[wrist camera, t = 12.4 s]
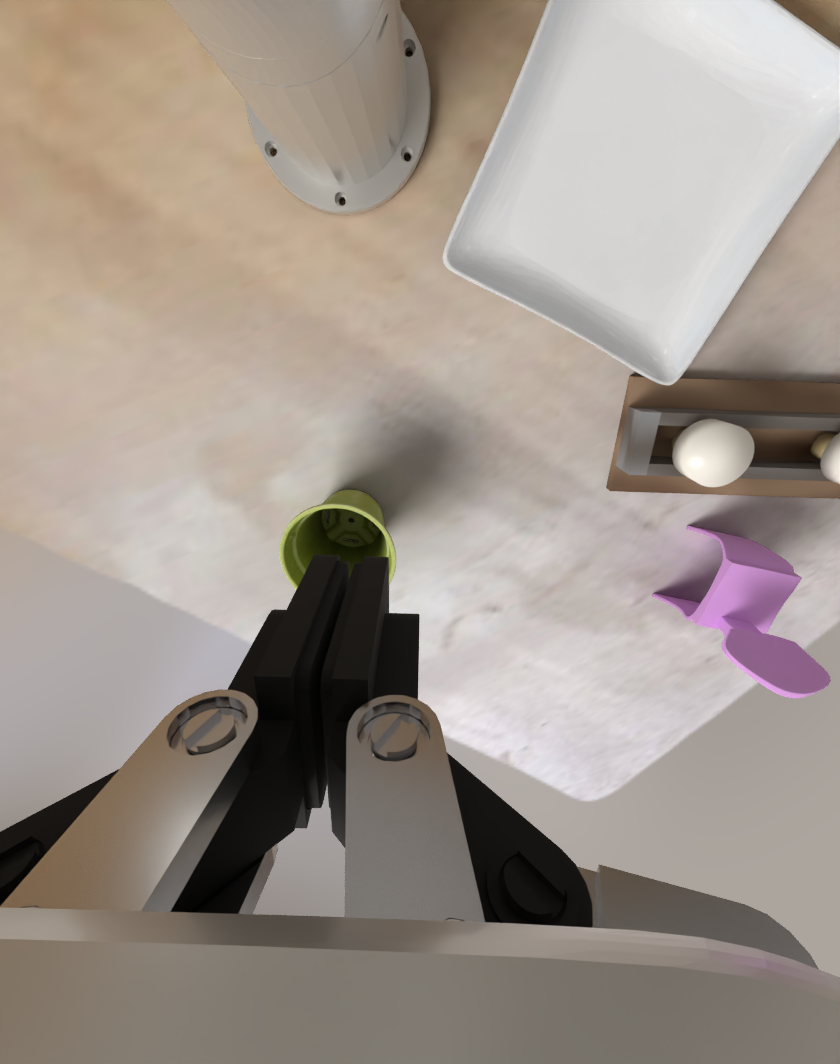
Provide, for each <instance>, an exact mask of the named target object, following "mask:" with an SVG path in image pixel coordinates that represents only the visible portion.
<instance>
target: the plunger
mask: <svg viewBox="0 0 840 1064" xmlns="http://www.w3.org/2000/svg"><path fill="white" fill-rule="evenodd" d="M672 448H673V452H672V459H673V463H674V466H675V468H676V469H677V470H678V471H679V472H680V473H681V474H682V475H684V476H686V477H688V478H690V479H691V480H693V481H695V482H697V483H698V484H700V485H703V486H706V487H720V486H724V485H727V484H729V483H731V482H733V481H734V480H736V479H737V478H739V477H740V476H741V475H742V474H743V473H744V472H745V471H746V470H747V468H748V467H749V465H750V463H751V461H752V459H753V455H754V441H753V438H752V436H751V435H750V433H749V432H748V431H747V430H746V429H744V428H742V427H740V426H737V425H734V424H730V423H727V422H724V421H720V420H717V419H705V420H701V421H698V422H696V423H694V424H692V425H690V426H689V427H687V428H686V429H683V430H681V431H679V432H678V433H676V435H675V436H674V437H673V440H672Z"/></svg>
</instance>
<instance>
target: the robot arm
mask: <svg viewBox="0 0 840 1064" xmlns="http://www.w3.org/2000/svg"><path fill="white" fill-rule="evenodd" d="M166 1H167V2H168V3H169V4H170V6H171V7H172V8H173V9H174V11H175V12H176V13H177V14H178V16H179V17H180V18H181V19H182V21H183V22H184V23H185V24H186V26H187V27H188V29H189V30H190V31H191V32H192V34H193V35H194V36H195V38H196V39H197V40H198V41H199V43H200V44H201V45H202V46H203V48H204V49H205V50H206V52H207V53H208V54H209V55H210V57H211V58H212V59H213V60H214V62H215V63H216V64H217V66H218V67H219V68H220V69H221V71H222V72H223V73H224V75H225V76H226V77H227V78H228V80H229V81H230V82H231V83H232V85H233V86H234V87H235V89H236V90H237V91H238V92H239V94H240V95H241V96H242V98H243V99H244V100H245V103H246V109H247V115H248V121H249V124H250V127H251V130H252V133H253V136H254V139H255V142H256V144H257V146H258V148H259V150H260V152H261V154H262V156H263V158H264V160H265V162H266V163H267V165H268V166H269V168H270V169H271V171H272V172H273V173H274V175H275V176H276V178H277V179H278V180H279V181H280V182H281V183H282V184H283V185H284V186H285V187H286V188H287V189H288V190H289V191H290V192H291V193H292V194H294V195H295V196H296V197H297V198H298V199H300V200H301V201H303V202H304V203H306V204H308V205H310V206H311V207H313V208H315V209H318V210H321V211H324V212H327V213H330V214H339V215H353V214H360V213H365V212H367V211H370V210H372V209H375V208H378V207H379V206H381V205H382V204H384V203H385V202H387V201H388V200H390V199H391V198H393V197H394V196H395V195H396V193H397V192H398V191H399V190H400V189H401V188H402V187H403V186H404V185H405V184H406V182H407V181H408V179H409V178H410V176H411V175H412V173H413V172H414V170H415V168H416V166H417V164H418V162H419V159H420V157H421V155H422V153H423V150H424V146H425V142H426V138H427V134H428V129H429V120H430V110H431V105H430V97H431V92H430V83H429V74H428V68H427V64H426V60H425V57H424V53H423V49H422V46H421V44H420V41H419V39H418V37H417V35H416V32H415V30H414V28H413V26H412V24H411V22H410V21H409V19H408V18H407V16H406V15H405V13H404V12H403V10H402V9H401V6H400V0H166ZM408 51H411V52H412V53H413V56H411V57H407V56H406V53H407V52H408ZM273 150H277V154H276V155H275V156H274V157H273V156H272V151H273ZM406 154H409V155H410V156H411V159H410V161H405V160H404V156H405V155H406ZM342 198H344V199H345V200H346V202H345V204H344V205H343V206H342V205H340V203H339V201H340V199H342ZM418 660H419V614H399V613H389V557H373V556H364V559H363V562H355V563H354V566H353V570H352V573H351V576H350V578H349V563H348V562H341V560H340V556H339V555H314V556H313V558H312V560H311V562H310V564H309V566H308V568H307V570H306V572H305V574H304V576H303V578H302V580H301V582H300V584H299V586H298V588H297V590H296V592H295V594H294V596H293V598H292V600H291V602H290V604H289V606H288V608H287V610H272V611H271V612H270V614H269V615H268V617H267V619H266V621H265V622H264V624H263V626H262V628H261V630H260V631H259V633H258V635H257V637H256V639H255V641H254V642H253V644H252V646H251V648H250V650H249V652H248V654H247V655H246V657H245V659H244V661H243V663H242V664H241V666H240V668H239V670H238V672H237V673H236V675H235V677H234V679H233V681H232V683H231V684H230V686H229V688H228V690H215V691H210V692H205V693H202V694H200V695H197V696H195V697H192V698H190V699H188V700H186V701H185V702H183V703H181V704H180V705H178V706H176V707H175V708H174V709H173V710H172V711H171V712H170V713H169V714H168V715H167V716H166V717H165V718H164V719H163V720H162V721H161V722H160V723H159V725H158V726H157V727H156V728H155V729H154V730H153V731H152V733H151V734H150V735H149V736H148V737H147V738H146V740H145V741H144V742H143V743H142V744H141V745H140V746H139V747H138V749H137V750H136V751H135V752H134V753H133V754H132V756H131V757H130V758H129V759H128V760H127V761H126V762H125V764H124V765H123V766H122V767H121V768H120V769H119V770H117V771H115V772H113V773H111V774H109V775H107V776H105V777H103V778H101V779H100V780H98V781H96V782H94V783H92V784H90V785H88V786H86V787H84V788H83V789H81V790H79V791H77V792H75V793H73V794H71V795H69V796H68V797H66V798H63V799H62V800H60V801H58V802H56V803H54V804H52V805H50V806H48V807H47V808H45V809H43V810H41V811H39V812H37V813H35V814H33V815H31V816H29V817H27V818H26V819H24V820H22V821H20V822H18V823H16V824H14V825H13V826H10V827H9V828H7V829H5V830H3V831H1V832H0V1064H840V978H839V977H837V976H834V975H832V974H829V973H826V972H824V971H821V970H819V969H818V967H817V965H816V964H815V962H814V960H813V959H812V957H811V955H810V954H809V953H808V951H807V950H806V949H805V948H804V947H803V946H802V945H801V944H800V943H799V941H798V940H797V939H796V938H795V937H794V936H793V935H792V934H791V933H790V932H789V931H788V930H787V929H786V928H784V927H783V926H782V925H780V924H779V923H777V922H776V921H775V920H774V919H772V918H771V917H770V916H768V915H767V914H765V913H763V912H761V911H758V910H756V909H754V908H751V907H749V906H747V905H745V904H741V903H737V902H734V901H730V900H726V899H722V898H719V897H716V896H712V895H708V894H704V893H701V892H697V891H694V890H690V889H686V888H682V887H679V886H675V885H672V884H668V883H665V882H661V881H657V880H654V879H650V878H646V877H642V876H639V875H635V874H631V873H628V872H624V871H621V870H617V869H613V868H610V867H606V866H602V865H599V866H598V870H597V872H594V871H591V870H587V869H584V868H580V867H577V866H576V864H575V863H574V862H573V861H572V860H571V859H570V858H569V857H568V856H567V855H566V854H565V853H564V852H563V851H562V849H560V848H559V847H558V846H557V845H556V844H554V843H553V842H552V841H551V840H550V839H548V838H547V837H546V836H545V835H544V834H543V833H541V832H540V831H539V830H538V829H537V828H535V827H534V826H533V825H532V824H531V823H530V822H528V821H527V820H526V819H525V818H523V816H521V815H520V814H519V813H518V812H517V811H515V810H514V809H513V808H512V807H511V806H510V805H508V804H507V803H506V802H505V801H504V800H502V799H501V798H500V797H499V796H498V795H496V794H495V793H494V792H493V791H492V790H491V789H489V788H488V787H487V786H486V785H485V784H483V783H482V782H481V781H480V780H479V779H478V778H476V777H475V776H474V775H473V774H472V773H471V772H469V771H468V770H467V769H466V768H465V767H463V766H462V765H461V764H460V763H459V762H458V761H456V760H455V759H454V758H453V757H452V756H450V755H449V754H448V753H447V752H446V747H445V743H444V739H443V734H442V730H441V725H440V723H439V720H438V718H437V716H436V714H435V713H434V712H433V711H432V710H431V709H430V707H429V706H428V705H426V704H424V703H423V702H421V701H419V700H418ZM327 785H328V797H329V798H328V799H329V807H330V808H331V820H332V832H333V833H334V834H335V836H336V837H337V838H338V840H339V841H340V842H341V843H342V845H343V846H344V847H345V917H320V916H286V915H254V914H253V912H254V909H255V907H256V905H257V902H258V900H259V897H260V895H261V893H262V890H263V888H264V886H265V884H266V881H267V879H268V876H269V874H270V872H271V869H272V867H273V865H274V862H275V858H276V854H277V851H278V843H279V842H280V841H281V840H283V839H284V838H285V837H286V836H288V835H289V834H290V833H292V832H293V831H294V829H295V828H307V825H308V821H309V817H310V813H311V809H312V808H321V807H322V804H323V800H324V796H325V791H326V786H327Z"/></svg>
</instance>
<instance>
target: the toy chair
mask: <svg viewBox="0 0 840 1064" xmlns="http://www.w3.org/2000/svg"><path fill="white" fill-rule="evenodd" d="M686 529H689V530H693V531H697V532H700V533H703V534H706V535H709V536H711V537H714V538H715V539H717V540H718V541H719V543H720V544H721V548H722V553H723V561H722V564H721V567H720V569H719V571H718V573H717V575H716V577H715V579H714V581H713V583H712V585H711V587H710V589H709V591H708V593H707V594H706V596H705V597H704V599H703V600H702V602H701V603H699V602H694V601H689V600H684V599H679V598H674V597H670V596H665V595H660V594H655V593H653V595H652V596H653V597H655V598H657V599H659V600H662V601H664V602H666V603H668V604H670V605H672V606H673V607H675V608H677V609H678V610H679V611H680V612H681V613H682V614H683V616H684V617H685V618H686V619H687V620H691V621H694V622H695V623H696V624H697V625H700V626H705V627H710V628H716V629H720V630H721V631H722V632H723V634H724V635H725V636H726V637H725V639H724V640H723V642H722V646H721V647H722V650H723V652H724V653H725V655H726V656H727V657H728V658H729V659H730V660H731V661H732V662H733V663H734V664H735V665H737V666H738V667H739V668H740V669H741V670H743V671H744V672H745V673H747V674H748V675H749V676H751V677H752V678H753V679H755V680H756V681H758V682H759V683H760V684H762V685H763V686H765V687H766V688H768V689H770V690H772V691H773V692H775V693H777V694H779V695H782V696H785V697H790V698H801V697H805V696H808V695H811V694H813V693H816V692H818V691H820V690H822V689H824V688H825V687H826V686H828V685H829V683H830V676H829V674H828V673H827V672H826V671H825V669H824V668H823V667H822V666H820V665H819V664H818V663H817V662H816V661H815V660H814V659H813V658H812V657H811V656H810V655H808V654H807V653H806V652H805V651H804V650H803V649H802V648H801V647H800V646H798V645H797V644H796V643H795V642H793V641H790V640H786V639H783V638H780V637H777V636H773V635H769V634H766V632H767V631H768V629H769V628H770V626H771V624H772V622H773V620H774V619H775V617H776V615H777V613H778V612H779V610H780V609H781V607H782V606H783V604H784V603H785V601H786V600H787V599H788V597H789V596H790V595H791V593H792V592H793V591H794V589H795V588H796V586H797V585H798V583H799V582H800V580H801V579H802V578H801V577H800V576H798V575H797V574H795V573H794V569H793V567H792V566H791V565H790V564H789V563H788V562H787V561H786V560H784V559H783V558H782V557H780V556H778V555H777V554H775V553H774V552H772V551H770V550H769V549H767V548H765V547H763V546H762V545H760V544H758V543H756V542H753V541H751V540H749V539H746V538H743V537H738V536H734V535H729V534H725V533H720V532H716V531H711V530H707V529H702V528H697V527H693V526H687V528H686Z"/></svg>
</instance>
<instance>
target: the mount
mask: <svg viewBox="0 0 840 1064" xmlns="http://www.w3.org/2000/svg"><path fill="white" fill-rule="evenodd" d="M705 419H717V420H720V421H724V422H727V423H730V424H734V425H737V426H740V427H742V428H744V429H746V430H747V431H748V432H749V433H750V435H751V436H752V438H753V441H754V455H753V459H752V461H751V463H750V465H749V467H748V468H747V470H746V471H745V472H744V473H743V474H742V475H741V476H740V477H739V478H737V479H736V480H734V481H733V482H731V483H729V484H727V485H724V486H720V487H706V486H703V485H700V484H698V483H697V482H695V481H693V480H691V479H690V478H688V477H686V476H684V475H682V474H681V473H680V472H679V471H678V470H677V469H676V468H675V466H674V463H673V459H672V452H673V448H672V440H673V437H674V436H675V435H676V433H678V432H679V431H681V430H683V429H686V428H687V427H689V426H690V425H692V424H694V423H696V422H698V421H701V420H705ZM827 433H831V434H835V435H837V434H839V433H840V383H825V382H795V381H765V380H736V379H706V378H679V379H678V380H677V381H676V382H675V383H674V384H672V385H661V384H658V383H656V382H654V381H652V380H650V379H648V378H646V377H644V376H630V377H629V381H628V386H627V391H626V396H625V401H624V405H623V410H622V415H621V420H620V425H619V429H618V434H617V439H616V444H615V449H614V453H613V458H612V463H611V468H610V473H609V477H608V482H607V487H606V488H607V489H609V490H610V491H626V492H657V493H688V494H718V495H749V496H779V497H810V498H840V484H838V483H835V482H833V481H830V480H829V479H827V478H826V477H825V476H824V475H823V473H822V470H821V465H820V464H821V460H820V459H817V458H815V457H813V456H812V454H811V446H812V444H813V442H814V441H815V440H816V439H817V438H818V437H819V436H821V435H823V434H827Z"/></svg>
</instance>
